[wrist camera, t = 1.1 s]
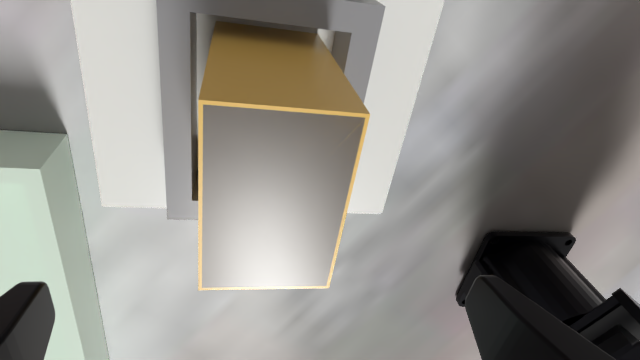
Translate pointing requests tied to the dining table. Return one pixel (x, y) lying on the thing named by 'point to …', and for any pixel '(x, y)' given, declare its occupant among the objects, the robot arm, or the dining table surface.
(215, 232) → the tan rectangular block
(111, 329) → the dining table surface
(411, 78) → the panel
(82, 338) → the parts tray
